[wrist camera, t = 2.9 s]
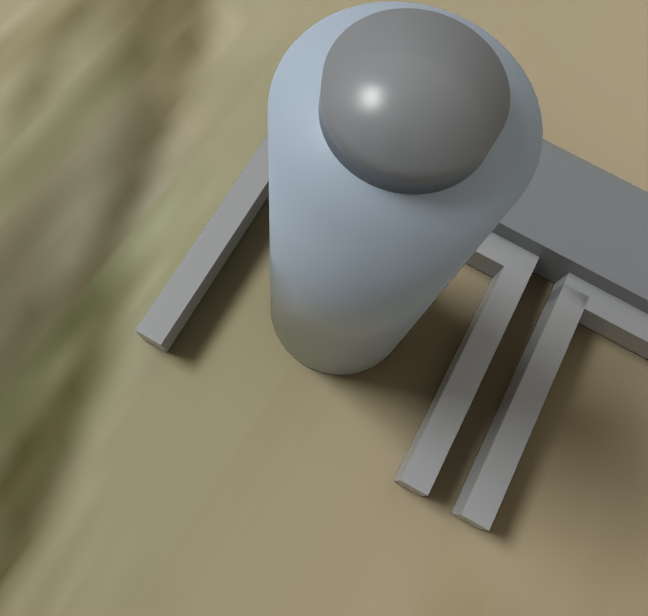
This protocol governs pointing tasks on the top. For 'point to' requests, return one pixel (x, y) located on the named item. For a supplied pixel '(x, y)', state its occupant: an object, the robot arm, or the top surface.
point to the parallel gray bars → (483, 305)
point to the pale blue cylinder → (387, 173)
